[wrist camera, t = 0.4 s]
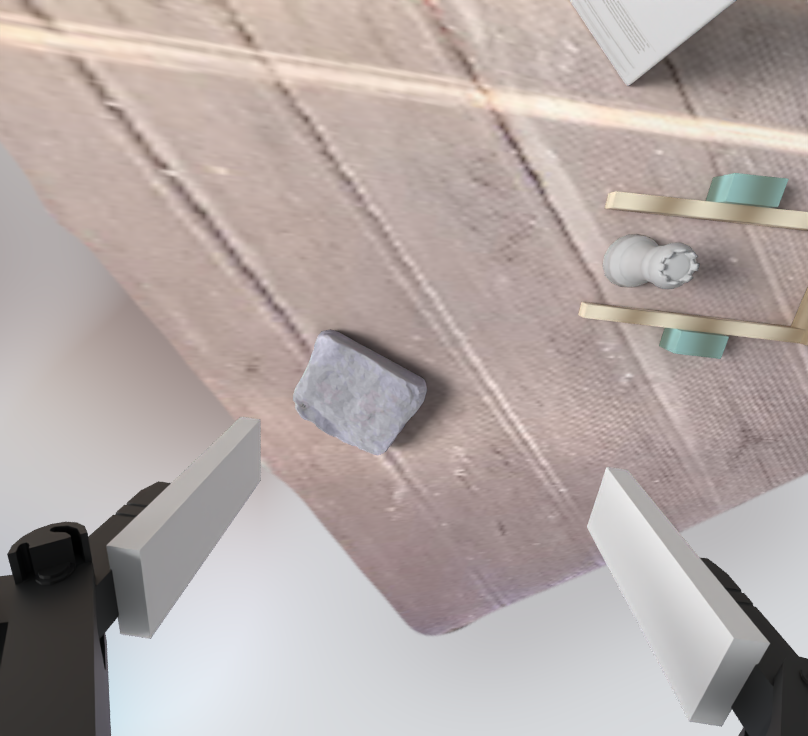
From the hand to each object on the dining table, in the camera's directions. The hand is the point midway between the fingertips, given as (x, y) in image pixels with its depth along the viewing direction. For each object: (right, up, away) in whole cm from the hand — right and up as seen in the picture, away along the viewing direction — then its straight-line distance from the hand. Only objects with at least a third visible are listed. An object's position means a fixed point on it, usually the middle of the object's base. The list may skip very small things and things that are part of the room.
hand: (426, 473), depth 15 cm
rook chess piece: (+19, +14, +20) cm, 31 cm away
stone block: (-6, +2, +26) cm, 27 cm away
